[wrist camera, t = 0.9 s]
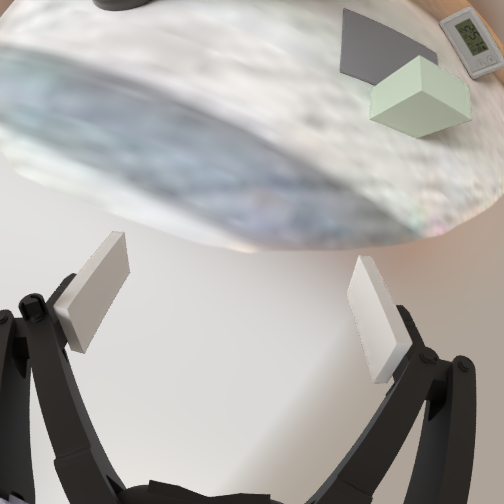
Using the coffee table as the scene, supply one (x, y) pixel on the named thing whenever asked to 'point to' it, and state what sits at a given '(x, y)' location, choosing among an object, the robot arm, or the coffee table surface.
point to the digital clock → (472, 42)
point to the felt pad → (376, 49)
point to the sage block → (420, 99)
